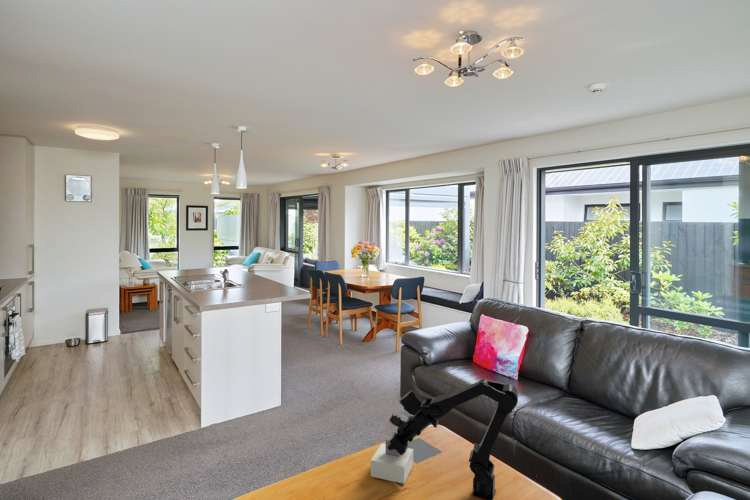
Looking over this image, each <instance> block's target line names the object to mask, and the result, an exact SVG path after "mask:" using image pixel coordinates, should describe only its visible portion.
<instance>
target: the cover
mask: <svg viewBox="0 0 750 500" xmlns="http://www.w3.org/2000/svg"><path fill="white" fill-rule="evenodd" d="M390 440H391V438H389V437H386V439H385V443H384V442H382V443H381V444H380V445H379V447H378V448H377V450H376V451H375V453H374V454H373V456H372V458H371V459H370V477H372V478H376V479H382V480H385V481H390V482H394V483H399V484H404V485H405V484H406V483H405V482H406V481H407V479H408V476H409V475H410V473H411V470H412V468H413V466H414V461H413V449H410V448H407V450H406V452H405V453H404V454H403V455H400V454H399V453H398V452H397V451H396V449H394V450H389V449H388V448H387V447H388V446H389V445H390Z"/></svg>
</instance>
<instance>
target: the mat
mask: <svg viewBox="0 0 750 500" xmlns="http://www.w3.org/2000/svg"><path fill="white" fill-rule="evenodd" d="M408 448H410V449H413V463H416V464H419V463H421V462H424V461H426V460H427V459H430V458H432V457H434V456H436V455H439V454H441V453H443V450H442V451H441V450H440V449H439V448H437V447H435V446H434V445H432V444H430V443H428V442H427V441H425V440H424V439H422V438H420V437H417V438H415V439H414V438H413V440H412V441H411V442H410V441H408Z"/></svg>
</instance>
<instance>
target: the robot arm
mask: <svg viewBox="0 0 750 500" xmlns="http://www.w3.org/2000/svg"><path fill="white" fill-rule="evenodd" d="M518 392H519V391H518V389H517V387H516V386H515V385H513V384H509V383H507V384H505V383H502V382H499V381H492V380H488V379H485V378H481V379H479V380H478V381H477V382H474V383H472V384H470V385H467V386H466V387H464V388H461V389H459V390H456V391H455V392H452V393H448V394H441V395H437V396H434V397H433V398H429V397H428V398H423V400H422V399H421V397H420V396H419V395H418V394H417V392H416V391H415V389H412V390H410V391H408V392H406V394H404V395H403V396H402V397H401V398H400V400H398V402H399V404H400V405H401V406H402V408H404V409H405V411H407V413H408V414H409V415H410V416H408V415H406V414H405V413H403V412H402V411H401V410H399V409H395V410H394V411H393V412H392V415H391V416H390V418H389V422H390V423H391V424H392V425H393V426H395V427H397V429H396V431H397V432H394V433H393V435H392V437H391V438H390V439H391V440H390V445H389V446H388V447H387V448H388V449H389V450H394V449H396V451H397V452H398V453H399V454H400V455H403V454H404V453H405V452H406V450H407V448H408V442H409V441H410V442H411V441H412V440H414V438H416V437H417V436H420V435H421V434H422V432H423V431H425V429H427V428H428V427H429V426H430V425H432V426H433V427H434V428H437V427H438V424H439V419H441V418H443V417H444V416H445V415H447V414H448V413H449V412H450V411H452V410H453V409H454V408H455V407H458V406H461V405H462V404H464V403H467V402H469V401H471V400H474V399H476V398H478V397H480V396H486V397H488V398H489V399H491V400H492V401H494V402H497V404H496V408H495V411H494V412H493V415H492V417H491V420H490V422H489V423H488V426H487V429H486V431H485V434H484V435H483V437H482V440H481V442H480V443H479V444H478V443H476V442H474V445H473V449H472V450H470V454H469V458H468V462H469V469H470V471H471V472H472V473H473V474H474V476H473V479H472V491H473V494H472V495H473V497H475V498H480V499H483V500H494V497H495V494H496V488H495V487H496V475H495V473H494V472H495V464H494V463H493V462H492V461H491V460H490V458H491V452H492V450H493V448H494V446H495V443H496V441H497V439H498V437H499V434H500V432H501V430H502V428H503V426H504V423H505V421H506V419H507V417H508V416H509V415H510V414H511V413H513V410H514V409H515V408H516V406H517V405H518V402H519V399H518V398H519V393H518Z"/></svg>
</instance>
